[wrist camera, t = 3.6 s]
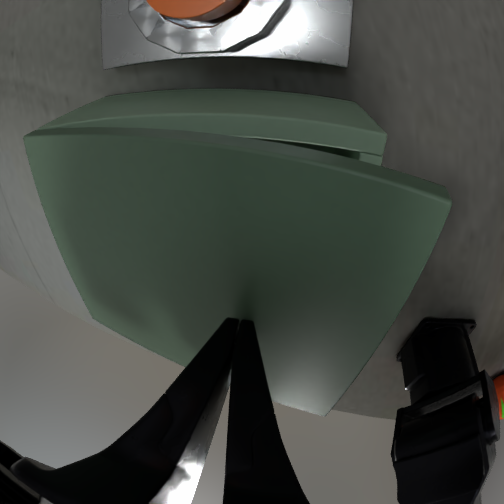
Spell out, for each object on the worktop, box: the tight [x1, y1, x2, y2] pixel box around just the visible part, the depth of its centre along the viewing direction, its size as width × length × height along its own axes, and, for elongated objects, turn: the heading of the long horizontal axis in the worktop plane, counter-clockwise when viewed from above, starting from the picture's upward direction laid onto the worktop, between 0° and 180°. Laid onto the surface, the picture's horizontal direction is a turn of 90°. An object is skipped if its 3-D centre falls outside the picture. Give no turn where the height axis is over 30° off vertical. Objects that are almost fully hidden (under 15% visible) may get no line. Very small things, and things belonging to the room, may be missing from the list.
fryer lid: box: [23, 127, 452, 416], centre depth 10 cm, size 14×12×1 cm
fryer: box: [37, 88, 387, 166], centre depth 14 cm, size 14×12×6 cm
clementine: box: [493, 374, 504, 419], centre depth 25 cm, size 8×7×7 cm
